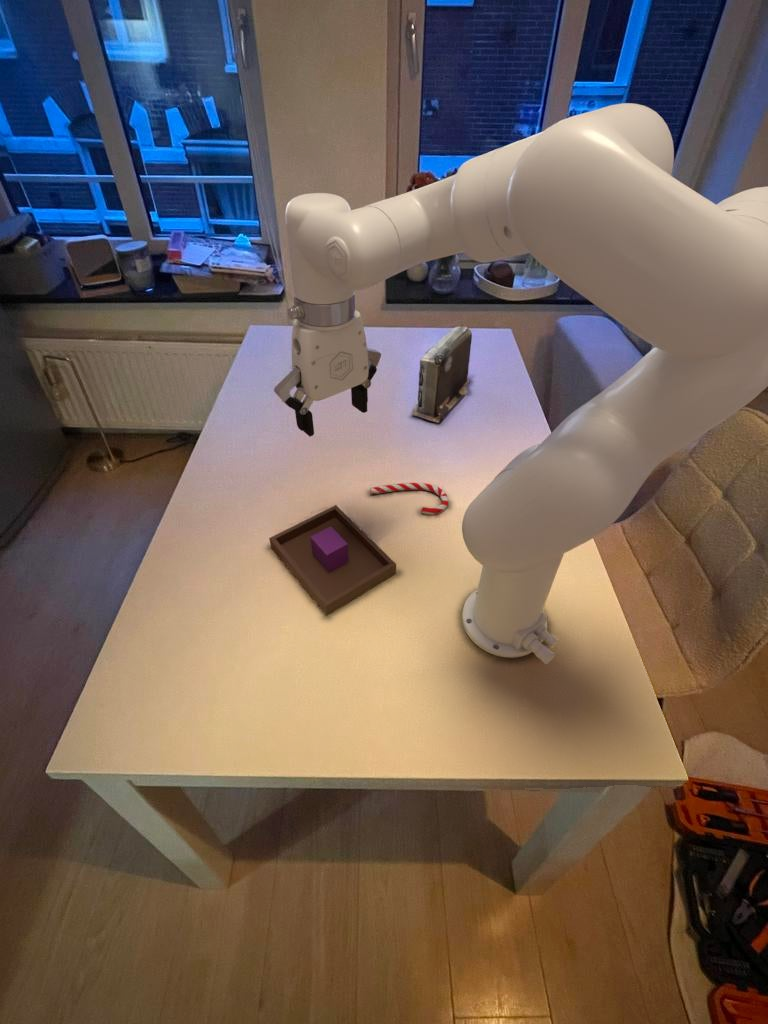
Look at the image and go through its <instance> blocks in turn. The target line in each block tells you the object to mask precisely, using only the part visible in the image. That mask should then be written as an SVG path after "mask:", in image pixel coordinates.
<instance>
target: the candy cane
mask: <svg viewBox="0 0 768 1024" xmlns="http://www.w3.org/2000/svg"><path fill="white" fill-rule="evenodd" d="M411 490H412V491H413V490H415V491H417V490H418V491H419V490H421V491H427V492H431V493H434V494H436V495H437V496H438V497H439V498H440V500H441V502H440V504H439V505H438V506H436V507H426V506H425V507H424V506H423V507H422V508H420V509H421V510H420V512H421V514H425V515H436V514H440V513H442V512H443V511H445V510H446V509H447V508H448V505H449V496H448V495H447V493H446V492H445V491H444V490H443V489H442V488H440V487H438V486H437V485H434V484H431V483H430V484H429V483H424V482H403V483H393V484H386V485H380V486H374V487H371V488H370V489H369V491H370V494H371V495H377V494H382V493H383V494H384V493H389V492H397V491H411Z"/></svg>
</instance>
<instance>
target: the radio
mask: <svg viewBox="0 0 768 1024" xmlns="http://www.w3.org/2000/svg"><path fill="white" fill-rule="evenodd" d="M472 340H473V333H472V331H471V330H470V328H469V327H467V326H466V325H464V324H460V325H459V326H455V327H453V328H452V329H451V330H449V331H448V332H447V333H446V334H445V335H444V336H443V337H441V339H439V340H438V341H437V342H436V343H435V345H433V346H432V347H431V348H429V349H428V350H426V352H425V354H424V355H423V356H422V357H421V358H420V360H419V370H418V371H419V372H418V392H417V404H416V405H415V406H414V407H413V409H412V411H411V413H412V414H411V415H412V416H415V417H419V418H422V419H425V420H428V421H430V422H434V423H440V422H441V421H442V420H443V419H444V418H445V417H446V416H447V415H448V414H449V412H451V411H452V409H454V408H455V406H456V405H457V404H458V403H459V402H460V401H461V400H462V399H463V398H464V397H465V396H466V395H467V394H468V389H467V387H466V386H467V385H468V384H469V382H470V380H469V379H468V376H469V367H470V366H469V365H470V360H471V359H470V358H471V350H472V349H471V347H472Z"/></svg>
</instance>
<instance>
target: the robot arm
mask: <svg viewBox="0 0 768 1024" xmlns="http://www.w3.org/2000/svg"><path fill="white" fill-rule="evenodd" d="M674 163H675V148H674V141H673V137H672V133H671V131H670V129H669V126H668V124H667V123H666V122H665V119H664V118H663V117H662V116H660V114H658V112H657V111H655V110H654V109H652V108H650V107H648V106H646V105H642V104H639V103H631V102H625V103H624V102H623V103H616V104H611V105H608V106H604V107H600V108H598V109H594V110H590V111H586V112H583V113H580V114H576V115H572V116H569V117H567V118H564V119H561V120H559V121H558V122H556V123H554V124H553V125H551V126H548V127H546V129H544V130H543V131H540V132H538V133H536V134H533V135H530V136H527V137H526V138H523V139H519V140H517V141H515V142H512V143H509V144H507V145H504V146H501V147H499V148H496V149H494V150H491V151H489V152H486V153H483V154H481V155H478V156H474V157H472V158H470V159H468V160H467V161H464V162H463V163H462V164H461V165H460V167H459V168H458V170H457V172H456V173H455V174H453V175H450V176H448V177H446V178H443V179H440V180H437V181H435V182H432V183H430V184H426V185H424V186H421V187H418V188H416V189H412V190H409V191H408V192H405V193H402V194H398V195H395V196H392V197H389V198H385V199H382V200H379V201H376V202H372V203H369V204H367V205H364V206H362V207H357V208H354V209H351V206H350V204H349V202H348V201H347V200H346V199H345V198H344V197H342V196H340V195H337V194H335V193H327V192H311V193H304V194H300V195H297V196H295V197H293V198H291V199H290V201H288V202H287V205H286V208H285V214H284V215H285V227H286V234H287V245H288V250H289V261H290V269H291V270H290V271H291V278H292V286H293V287H292V288H293V294H294V295H293V305H292V307H289V308H287V310H286V311H287V316H288V318H289V320H293V321H292V329H291V330H292V332H291V367H292V370H291V371H290V372H289V373H288V374H287V375H285V377H283V378H282V379H281V380H280V382H279V383H278V384H277V385H275V387H274V388H273V392H274V393H275V394H276V395H277V397H278V398H279V399H280V400H281V402H282V403H284V404H285V405H286V406H287V407H289V408H291V410H294V413H295V420H296V421H295V422H296V427H297V428H298V430H300V431H301V432H303V433H305V434H306V435H307V436H308V437H310V438H311V437H313V436H314V435H315V427H314V418H313V413H312V412H311V410H310V408H311V406H312V405H313V402H318V401H323V400H325V399H328V398H331V397H333V396H335V395H339V394H341V393H343V392H346V391H348V390H350V396H351V397H350V399H351V406H352V407H353V408H355V409H357V410H358V411H359V412H361V413H363V414H365V413H368V403H369V397H368V396H369V395H368V394H369V393H368V389H369V388H370V387H371V386H372V380H373V378H374V376H375V375H376V373H377V370H378V366H379V362H380V360H381V357H382V353H381V352H379V351H378V350H377V349H375V348H370V347H368V343H367V337H366V331H365V327H364V322H363V318H362V315H361V313H360V311H358V310H356V301H355V300H356V299H355V298H356V297H355V291H363V290H366V289H369V288H371V287H374V286H375V285H378V284H379V283H382V282H384V281H386V280H387V279H390V278H391V277H394V276H396V275H398V274H400V273H403V272H404V271H406V270H409V269H411V268H414V267H416V266H419V265H421V264H424V263H428V262H431V261H435V260H439V259H442V258H447V257H450V256H454V255H458V254H464V253H465V254H466V255H467V256H468V257H469V258H470V259H472V260H473V261H475V262H478V263H483V264H486V263H492V262H497V261H502V260H506V259H509V258H510V259H511V258H514V257H518V256H522V255H528V254H530V255H531V256H532V257H533V258H534V259H535V260H536V261H537V262H538V263H539V264H540V265H542V266H543V267H544V268H545V269H547V270H548V271H549V272H550V273H551V274H553V275H554V276H555V277H556V278H558V280H560V281H562V282H563V283H564V284H566V285H567V286H568V287H570V288H571V289H572V290H574V291H575V292H576V293H578V294H579V295H580V296H582V297H583V298H585V299H586V300H588V301H589V302H590V303H592V304H593V305H595V307H597V308H598V309H600V310H601V311H603V312H604V313H606V314H607V315H608V316H609V317H611V318H612V319H614V320H615V321H617V322H618V323H619V324H620V325H622V326H623V327H625V328H626V329H627V330H629V332H632V333H633V334H634V335H635V336H638V338H640V339H641V340H643V341H644V342H646V343H647V344H649V345H652V346H653V348H652V349H651V350H650V351H648V352H647V353H646V354H645V355H644V356H643V357H642V358H641V359H640V360H639V361H638V362H636V363H635V365H633V366H632V367H631V368H630V369H628V370H627V371H626V372H624V373H623V374H622V375H621V376H620V377H618V378H617V379H616V380H615V381H614V382H612V383H611V384H610V385H609V386H607V387H606V388H605V389H604V390H602V391H601V392H599V393H598V394H597V395H595V396H594V397H593V398H591V399H590V400H588V401H587V402H585V403H584V404H582V405H581V406H580V407H578V408H576V409H575V410H574V411H573V412H571V413H570V414H568V415H567V417H565V419H563V421H561V422H560V423H559V424H558V426H556V427H555V429H554V430H552V432H550V433H549V434H548V436H547V437H546V438H545V439H544V440H543V441H541V443H537V444H534V445H532V446H530V447H528V448H526V449H525V450H522V451H521V452H520V453H519V454H517V455H516V456H515V457H514V458H513V459H512V460H511V461H509V463H508V464H507V465H506V466H505V467H504V468H503V469H502V470H501V471H500V472H499V473H498V474H497V475H496V476H495V477H494V478H493V480H491V482H489V483H488V485H486V487H484V488H483V490H481V491H480V493H478V495H476V496H475V498H473V500H472V501H471V502H470V504H469V505H468V506H467V508H466V509H465V511H464V514H463V518H462V521H461V522H462V523H461V534H462V539H463V541H464V545H465V547H466V549H467V551H468V552H469V554H470V555H471V556H472V558H473V559H474V560H475V561H476V562H477V563H479V564H480V565H482V568H481V572H480V575H479V576H480V577H479V581H478V586H477V589H476V590H474V591H473V592H472V593H471V594H469V596H468V597H467V598H466V600H465V601H464V605H463V608H462V614H461V620H462V625H463V628H464V631H465V632H466V634H467V636H468V637H469V638H470V640H471V641H472V642H473V643H474V644H475V645H476V646H478V648H480V649H482V650H483V651H485V652H486V653H489V654H491V655H494V656H497V657H502V658H511V659H513V658H520V657H524V656H528V655H530V654H531V653H533V654H534V655H535V656H536V658H538V659H539V660H540V661H541V662H542V663H543V664H545V665H548V664H550V663H551V661H552V660H553V659H554V658H555V656H556V653H554V652H553V651H552V650H551V649H550V648H548V647H547V646H546V645H544V644H543V642H545V643H546V644H547V645H548V646H550V647H551V648H554V647H555V646H556V645H557V644H558V642H559V639H558V638H556V636H554V635H553V634H552V633H550V632H549V631H548V616H547V615H546V613H545V610H544V608H545V605H546V603H547V600H548V597H549V595H550V592H551V590H552V587H553V583H554V581H555V578H556V575H557V572H558V570H559V568H560V565H561V563H562V560H563V558H564V554H566V553H569V552H570V551H573V549H576V548H577V547H580V546H582V545H583V544H585V543H587V542H589V541H591V540H593V539H594V538H596V537H598V535H600V534H602V533H603V532H604V531H605V530H607V529H608V528H610V527H611V526H612V525H613V524H614V523H615V522H616V521H618V519H619V518H620V517H621V516H622V515H623V513H624V512H625V511H626V509H627V508H628V507H629V505H630V504H631V502H632V501H633V499H634V498H635V496H636V495H637V494H638V492H639V491H640V489H641V488H642V486H643V485H644V484H645V482H646V481H647V479H648V478H649V477H650V475H651V474H652V473H653V472H654V470H655V469H656V468H657V467H658V466H659V465H660V464H662V463H663V462H664V461H665V460H667V459H668V458H670V457H671V456H672V455H674V454H676V453H677V452H678V451H680V450H682V449H684V448H685V447H687V446H689V445H690V444H691V443H693V442H695V441H696V440H698V439H700V437H702V436H703V435H705V434H706V433H708V432H709V431H711V430H712V429H714V428H716V427H717V426H718V425H721V423H723V422H725V421H726V420H728V419H730V417H732V416H733V415H735V414H736V413H738V412H739V411H740V410H742V409H743V408H744V407H746V406H747V405H748V404H749V403H751V402H752V401H753V400H754V399H755V398H756V397H758V396H759V395H760V394H761V393H762V392H763V391H765V389H766V388H767V387H768V186H761V187H760V186H759V187H758V186H757V187H753V188H748V189H746V190H743V191H740V192H738V193H736V194H733V195H730V196H729V197H727V198H724V199H722V200H721V201H719V202H718V203H715V202H713V201H712V200H710V199H708V198H707V197H705V196H703V195H702V194H700V193H698V192H697V191H695V190H694V189H692V188H691V187H689V186H687V185H686V184H684V183H683V182H681V181H680V180H678V179H676V178H675V177H674V176H673V175H672V174H673V169H674ZM294 388H296V391H295V392H294V394H293V395H291V391H292V390H293V389H294Z"/></svg>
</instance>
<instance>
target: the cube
mask: <svg viewBox="0 0 768 1024" xmlns="http://www.w3.org/2000/svg"><path fill="white" fill-rule="evenodd" d="M310 538H311V546H312V553H313V555H314V557H315V558H316V559H317V560H318V561H319V562H320V563H321V565H322V566H323V567H324V568H325V569H326V570H327V571H328V573H329V572H331V571H333V570H335V569H336V568H338V567H340V566H342V565H344V564H345V563H347V562H349V559H348V544H347V543H346V542H345V541H344V540H343V539H342V538H341V537H340V536H339V535H338V534H337V532H336V531H335V530H334V529H333V528H332V527H331V526H330V527H328V528H327V529H325V530H323V531H321V532H319V533H317V534H315V535H313V536H311V537H310Z"/></svg>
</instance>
